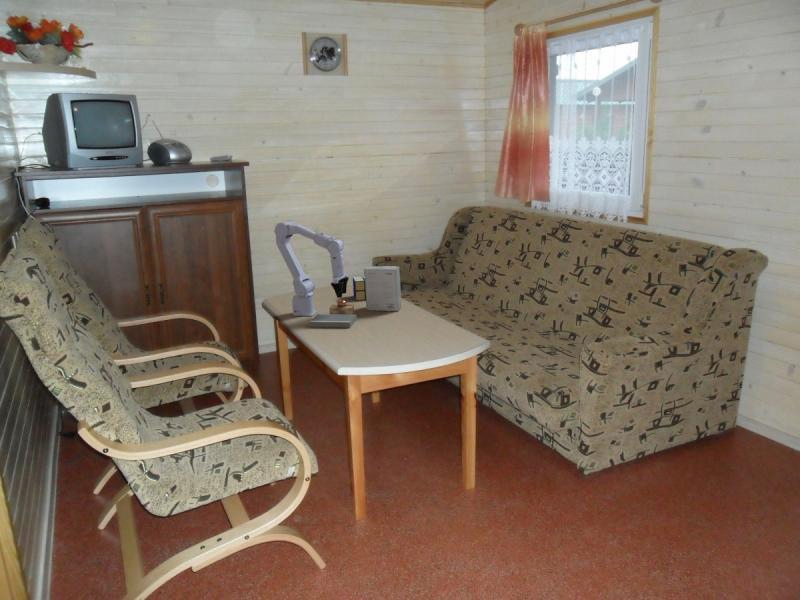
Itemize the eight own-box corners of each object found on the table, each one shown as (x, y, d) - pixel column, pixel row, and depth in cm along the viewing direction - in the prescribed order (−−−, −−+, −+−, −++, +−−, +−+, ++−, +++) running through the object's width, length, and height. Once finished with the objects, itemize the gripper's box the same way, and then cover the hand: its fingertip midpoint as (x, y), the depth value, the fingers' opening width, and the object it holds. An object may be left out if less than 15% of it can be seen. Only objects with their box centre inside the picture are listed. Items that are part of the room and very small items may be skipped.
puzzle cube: (353, 296, 332) (352, 277, 329) (372, 294, 334) (371, 275, 331) (355, 300, 322) (354, 281, 320) (375, 299, 324) (374, 279, 322)
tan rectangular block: (330, 318, 294) (329, 307, 293) (333, 314, 300) (332, 304, 298) (351, 318, 293) (351, 307, 291) (354, 315, 298) (353, 304, 297)
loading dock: (309, 327, 280) (309, 321, 280) (317, 319, 292) (317, 313, 291) (350, 327, 278) (349, 322, 277) (356, 319, 289) (356, 314, 288)
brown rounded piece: (336, 307, 293) (336, 302, 293) (338, 305, 297) (338, 299, 296) (344, 307, 293) (344, 302, 292) (347, 305, 296) (346, 299, 296)
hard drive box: (401, 307, 307) (400, 266, 302) (397, 311, 300) (395, 269, 295) (370, 306, 311) (368, 265, 306) (365, 310, 304) (363, 269, 299)
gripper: (342, 268, 283) (346, 298, 286) (350, 262, 297) (353, 291, 300) (327, 269, 284) (331, 299, 287) (335, 263, 298) (339, 292, 301)
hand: (341, 295), depth 294 cm, fingers open, 7 cm apart
